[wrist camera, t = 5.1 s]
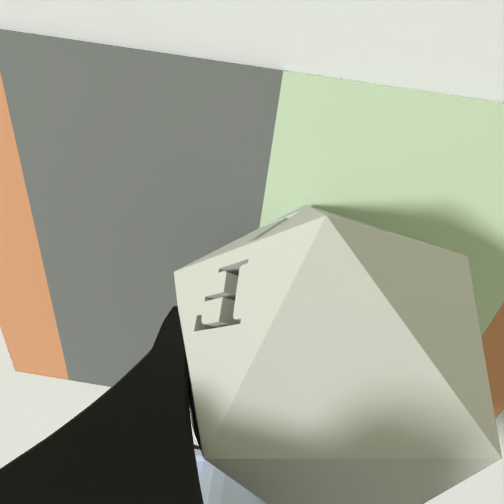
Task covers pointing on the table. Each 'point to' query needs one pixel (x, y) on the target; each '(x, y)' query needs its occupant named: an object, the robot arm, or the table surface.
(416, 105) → the mat
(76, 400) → the table surface
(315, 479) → the die
